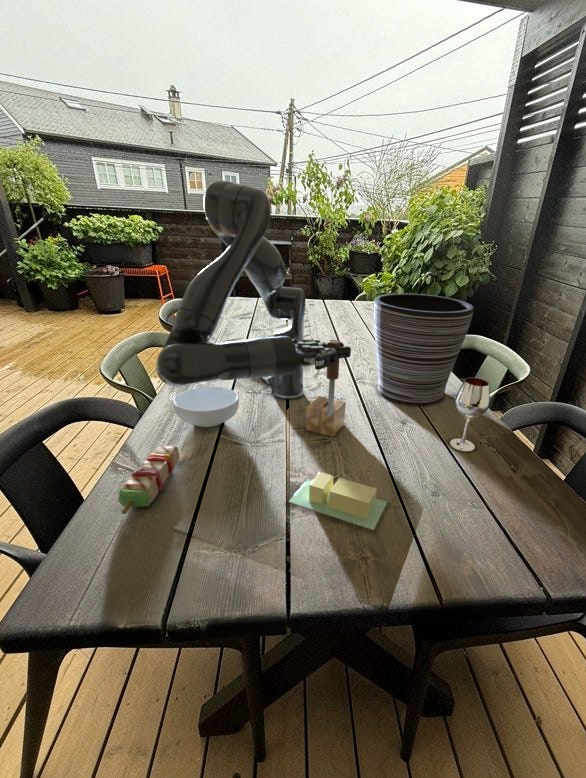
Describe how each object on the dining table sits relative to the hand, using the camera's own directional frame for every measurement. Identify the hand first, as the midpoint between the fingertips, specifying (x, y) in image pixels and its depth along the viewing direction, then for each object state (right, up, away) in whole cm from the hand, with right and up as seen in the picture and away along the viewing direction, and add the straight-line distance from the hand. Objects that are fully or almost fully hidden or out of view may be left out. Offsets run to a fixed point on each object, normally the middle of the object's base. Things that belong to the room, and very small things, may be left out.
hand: (345, 349), depth 84 cm
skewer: (-40, -29, -2) cm, 50 cm away
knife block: (-5, -17, +26) cm, 31 cm away
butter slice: (-5, -31, -3) cm, 31 cm away
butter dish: (-2, -32, -4) cm, 32 cm away
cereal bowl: (-37, -16, +26) cm, 48 cm away
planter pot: (+23, -6, +51) cm, 57 cm away
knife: (-3, -14, +5) cm, 15 cm away
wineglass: (+31, -22, +20) cm, 43 cm away
